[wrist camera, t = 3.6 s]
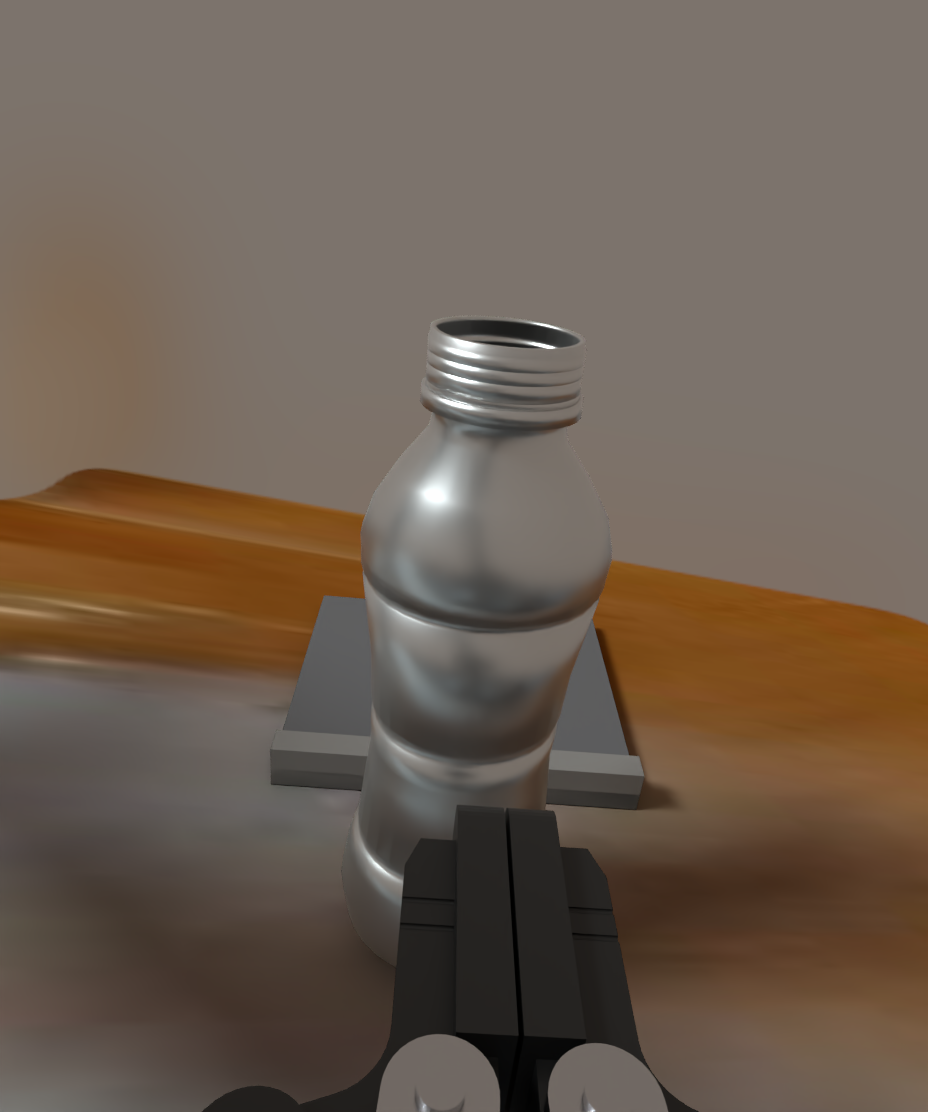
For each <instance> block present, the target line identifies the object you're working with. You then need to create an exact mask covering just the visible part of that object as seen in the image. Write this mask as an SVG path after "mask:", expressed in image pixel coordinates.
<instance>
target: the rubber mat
mask: <svg viewBox="0 0 928 1112" xmlns="http://www.w3.org/2000/svg"><path fill="white" fill-rule="evenodd" d="M371 708H372V697H371V645H370V635H369V626H368V617H367V608H366V599H360V598H347V597H335V596H324V598H323V601H322V604H321V608H320V611H319V614H318V617H317V621H316V624H315V627H314V630H313V634H312V637H311V640H310V643H309V646H308V650H307V653H306V656H305V659H304V663H303V666H302V669H301V672H300V676H299V679H298V682H297V685H296V689H295V692H294V695H293V698H292V702H291V705H290V708H289V711H288V714H287V718H286V721H285V724H284V727H283V730H276V733H275V736H274V739H273V743H272V746H271V749H270V755H271V784H279V785H294V786H308V787H322V788H336V789H350V790H362V785H363V779H364V773H365V767H366V761H367V755H368V749H369V743H370V737H371ZM643 780H644V773H643V769H642V766H641V762H640V759H639V756H629V753H628V749H627V746H626V742H625V738H624V735H623V731H622V727H621V724H620V720H619V716H618V712H617V709H616V705H615V701H614V698H613V694H612V690H611V687H610V683H609V679H608V676H607V672H606V668H605V664H604V661H603V657H602V653H601V650H600V646H599V642H598V639H597V635H596V631H595V627H594V624H593V620H591V622H590V625H589V628H588V630H587V633H586V636H585V638H584V641H583V644H582V646H581V649H580V651H579V654H578V657H577V659H576V662H575V665H574V667H573V670H572V673H571V675H570V679H569V683H568V687H567V691H566V695H565V699H564V703H563V706H562V710H561V714H560V717H559V720H558V722H557V728H556V734H555V737H554V741H553V745H552V749H551V753H550V761H549V773H548V784H547V796H546V803H549V804H564V805H578V806H592V807H606V808H621V809H635V810H636V808H637V804H638V800H639V796H640V792H641V788H642V784H643Z"/></svg>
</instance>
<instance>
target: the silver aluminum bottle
mask: <svg viewBox="0 0 928 1112" xmlns="http://www.w3.org/2000/svg"><path fill="white" fill-rule="evenodd" d="M585 344H586V339H585V338H584V337H583V336H582V335H580V334H579V333H576V332H574V331H572V330H569V329H566V328H563V327H559V326H555V325H551V324H546V323H541V322H536V321H529V320H523V319H515V318H505V317H493V316H454V317H446V318H440V319H437V320H434V321H433V322H431V324H430V331H429V332H428V348H427V368H426V376H425V377H424V378H423V379H422V381H421V398H420V401H421V403H422V405H423V406H424V407H425V408H426V409H428V410H429V411H431V412H432V415H431V419H430V423H429V425H428V426H427V427H426V429H425V430H424V431H423V432H422V433H421V434H420V435H419V436H418V437H417V438H416V440H415V441H414V442H413V443H412V444H411V445H410V446H409V447H408V448H407V449H406V450H405V452H404V453H403V454H402V455H401V456H400V457H399V459H398V460H397V461H396V463H395V464H394V466H393V467H392V468H391V470H390V471H389V472H388V474H387V475H386V477H385V478H384V479H383V481H382V482H381V484H380V485H379V486H378V488H377V489H376V491H375V492H374V494H373V497H372V499H371V502H370V504H369V507H368V510H367V513H366V515H365V518H364V520H363V523H362V528H361V563H362V567H363V580H364V589H365V598H366V608H367V617H368V626H369V635H370V645H371V697H372V708H371V737H370V743H369V749H368V755H367V761H366V767H365V773H364V779H363V785H362V790H361V796H360V801H359V804H358V806H357V809H356V811H355V814H354V817H353V820H352V823H351V825H350V829H349V833H348V838H347V842H346V846H345V851H344V855H343V862H342V870H341V872H342V880H343V887H344V893H345V898H346V903H347V908H348V914H349V916H350V919H351V922H352V924H353V927H354V929H355V931H356V932H357V934H358V935H359V937H360V938H361V939H362V941H363V942H364V944H366V945H367V946H368V947H369V948H370V949H371V950H372V951H373V952H374V953H375V954H376V955H377V956H379V957H380V958H382V959H383V960H385V961H386V962H388V963H389V964H391V965H392V966H394V967H396V964H397V952H398V940H399V927H400V915H401V903H402V891H403V879H404V867H405V863H406V862H407V860H408V858H409V857H410V855H411V853H412V852H413V850H414V848H415V847H416V845H417V844H418V842H419V840H420V839H421V838H427V839H442V840H452V839H453V830H454V821H455V813H456V806H457V805H472V806H486V807H501V808H504V812H505V811H506V808H519V809H534V810H545V807H546V796H547V784H548V773H549V761H550V753H551V749H552V745H553V741H554V737H555V734H556V728H557V722H558V720H559V717H560V714H561V710H562V706H563V703H564V699H565V695H566V691H567V687H568V683H569V679H570V675H571V673H572V670H573V667H574V665H575V662H576V659H577V657H578V654H579V651H580V649H581V646H582V644H583V641H584V638H585V636H586V633H587V630H588V628H589V625H590V622H591V620H592V617H593V615H594V612H595V609H596V607H597V604H598V601H599V597H600V595H601V593H602V591H603V589H604V585H605V581H606V578H607V574H608V571H609V567H610V564H611V561H612V546H611V537H610V527H609V518H608V516H607V513H606V511H605V509H604V507H603V505H602V502H601V500H600V498H599V496H598V494H597V491H596V489H595V487H594V485H593V483H592V481H591V478H590V476H589V474H588V473H587V471H586V469H585V468H584V466H583V464H582V462H581V461H580V459H579V457H578V456H577V454H576V452H575V451H574V449H573V447H572V445H571V444H570V442H569V441H568V437H567V436H568V434H567V426H570V425H573V424H575V423H577V422H578V421H579V420H580V419H581V414H582V407H583V400H584V397H583V395H582V394H581V393H580V390H581V384H582V377H583V369H584V363H585V356H586V347H585Z"/></svg>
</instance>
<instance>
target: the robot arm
mask: <svg viewBox="0 0 928 1112" xmlns="http://www.w3.org/2000/svg"><path fill="white" fill-rule="evenodd" d="M612 911H613V908H612V903H611V898H610V893H609V888H608V883H607V878H606V876H605V875H604V873H603V872H602V870H601V869H600V867H599V866H598V864H597V863H596V861H595V860H594V858H593V857H592V855H591V854H590V852H589V851H588V849H581V848H566V847H560V843H559V836H558V828H557V821H556V816H555V813H554V811H548V810H534V809H519V808H506V811H505V812H504V808H501V807H486V806H472V805H457V806H456V813H455V821H454V830H453V839H452V840H442V839H427V838H421V839H420V840H419V842H418V844H417V845H416V847H415V848H414V850H413V852H412V853H411V855H410V857H409V858H408V860H407V862H406V863H405V867H404V879H403V891H402V903H401V915H400V927H399V940H398V952H397V964H396V976H395V988H394V1000H393V1012H392V1025H391V1032H390V1038H389V1041H388V1044H387V1047H386V1049H385V1051H384V1053H383V1055H382V1057H381V1059H380V1060H379V1062H378V1063H377V1064H376V1066H375V1067H374V1068H373V1069H372V1070H371V1071H370V1072H369V1073H368V1075H367V1076H365V1077H364V1078H363V1079H362V1080H360V1081H359V1082H358V1083H356V1084H355V1085H353V1086H351V1087H349V1088H348V1089H346V1090H343V1091H340V1092H338V1093H335V1094H332V1095H329V1096H326V1097H322V1098H319V1099H316V1100H313V1101H309V1102H306V1103H303V1104H300V1105H299V1104H298V1103H297V1102H296V1101H295V1100H294V1099H293V1098H291V1097H290V1096H289V1095H288V1094H286V1093H284V1092H282V1091H280V1090H278V1089H274V1088H271V1087H265V1086H249V1087H244V1088H240V1089H236V1090H234V1091H232V1092H229V1093H227V1094H225V1095H223V1096H222V1097H220V1098H218V1099H217V1100H215V1101H214V1102H213V1103H211V1104H210V1105H209V1106H208V1107H207V1108H205V1109H204V1110H203V1111H202V1112H698V1111H696V1110H694V1109H692V1108H690V1107H688V1106H687V1105H685V1104H684V1103H682V1102H681V1101H679V1100H678V1099H677V1098H675V1097H674V1096H673V1095H672V1094H671V1093H669V1092H668V1091H667V1090H666V1089H665V1088H664V1087H663V1086H662V1085H661V1083H660V1082H659V1081H658V1080H657V1078H656V1077H655V1076H654V1074H653V1073H652V1072H651V1070H650V1068H649V1067H648V1065H647V1063H646V1061H645V1059H644V1056H643V1054H642V1052H641V1048H640V1045H639V1041H638V1036H637V1031H636V1026H635V1021H634V1016H633V1011H632V1005H631V1000H630V995H629V990H628V985H627V980H626V975H625V970H624V965H623V959H622V954H621V949H620V944H619V942H618V934H617V929H616V924H615V919H614V916H613V914H612Z"/></svg>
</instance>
